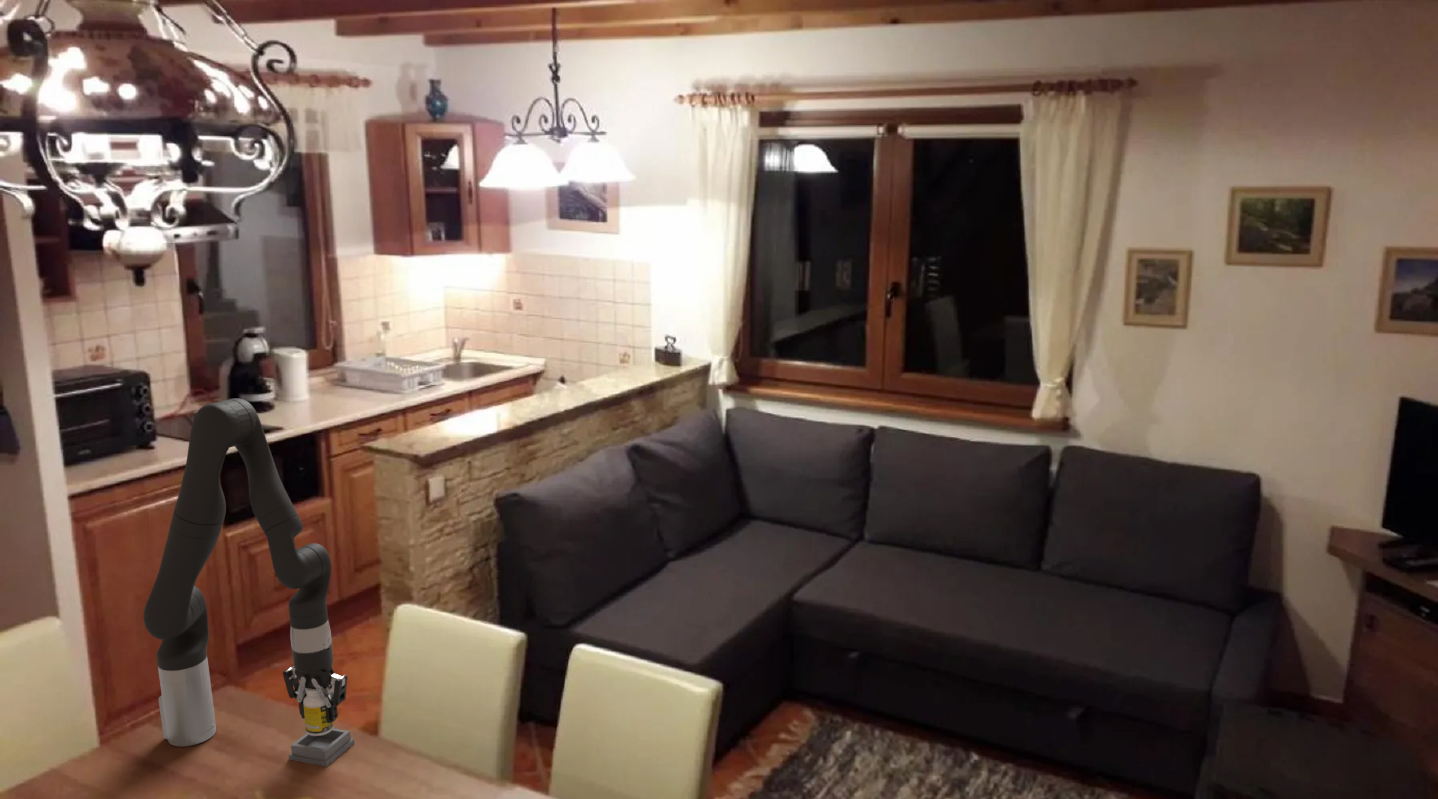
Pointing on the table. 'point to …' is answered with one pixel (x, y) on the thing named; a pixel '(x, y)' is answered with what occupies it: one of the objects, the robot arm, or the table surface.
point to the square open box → (321, 747)
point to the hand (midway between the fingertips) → (319, 718)
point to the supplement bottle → (315, 714)
